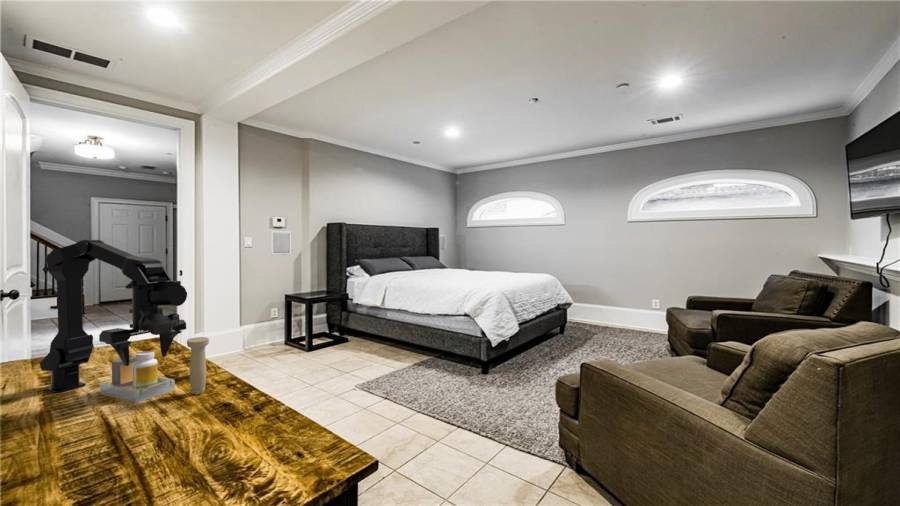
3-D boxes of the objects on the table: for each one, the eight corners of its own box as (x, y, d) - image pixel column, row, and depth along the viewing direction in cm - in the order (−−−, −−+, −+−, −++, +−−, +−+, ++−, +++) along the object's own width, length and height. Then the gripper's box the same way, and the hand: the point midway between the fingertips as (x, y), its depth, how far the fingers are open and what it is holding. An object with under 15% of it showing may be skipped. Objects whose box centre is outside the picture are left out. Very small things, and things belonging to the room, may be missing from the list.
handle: (191, 398, 102) (191, 343, 102) (184, 392, 106) (184, 339, 106) (211, 393, 106) (211, 339, 106) (203, 387, 110) (204, 336, 110)
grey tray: (99, 393, 105) (99, 363, 105) (139, 382, 114) (139, 354, 114) (136, 402, 99) (136, 370, 99) (174, 390, 108) (174, 360, 108)
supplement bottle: (162, 385, 107) (162, 351, 107) (141, 392, 102) (141, 356, 102) (149, 383, 109) (149, 349, 108) (128, 389, 104) (127, 354, 103)
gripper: (124, 312, 93) (125, 375, 93) (199, 302, 111) (199, 355, 111) (97, 309, 97) (98, 369, 97) (173, 299, 115) (173, 351, 115)
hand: (146, 361), depth 105 cm, fingers open, 9 cm apart
